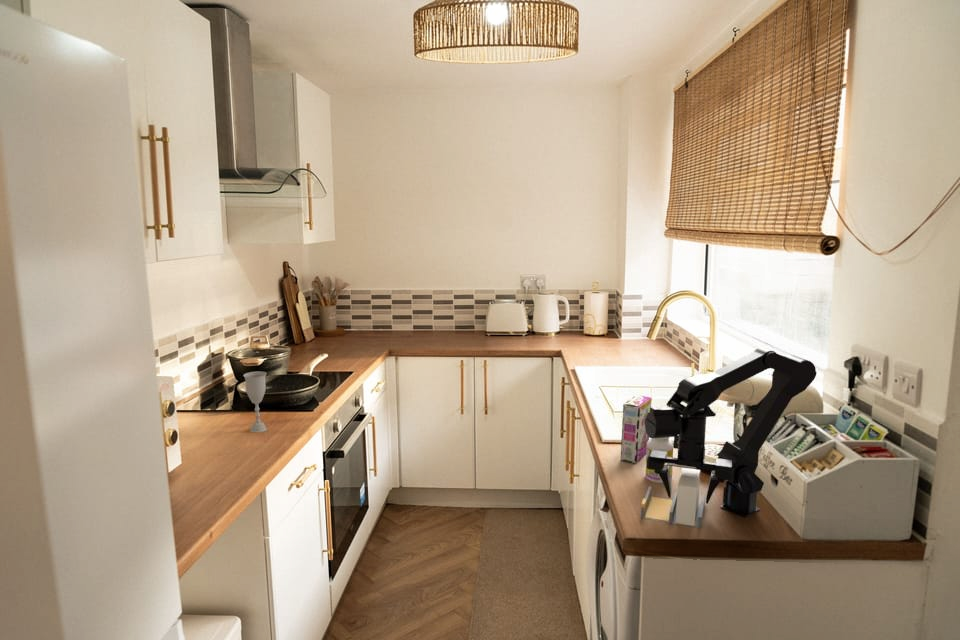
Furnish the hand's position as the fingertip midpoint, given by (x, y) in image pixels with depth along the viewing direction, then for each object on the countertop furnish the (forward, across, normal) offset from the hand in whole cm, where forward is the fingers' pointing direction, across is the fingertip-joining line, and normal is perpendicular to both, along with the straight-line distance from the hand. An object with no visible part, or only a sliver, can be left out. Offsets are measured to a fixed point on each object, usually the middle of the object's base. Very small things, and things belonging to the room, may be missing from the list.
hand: (688, 500), depth 156 cm
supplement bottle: (+4, +9, -18) cm, 21 cm away
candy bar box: (+4, +17, -32) cm, 37 cm away
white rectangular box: (+3, 0, 0) cm, 3 cm away
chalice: (+4, +131, -12) cm, 131 cm away
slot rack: (+4, +3, 0) cm, 5 cm away
